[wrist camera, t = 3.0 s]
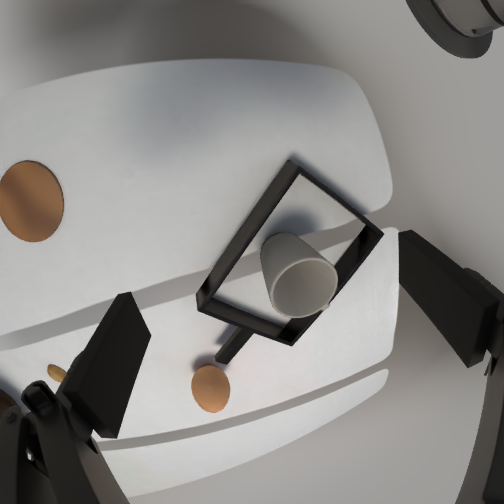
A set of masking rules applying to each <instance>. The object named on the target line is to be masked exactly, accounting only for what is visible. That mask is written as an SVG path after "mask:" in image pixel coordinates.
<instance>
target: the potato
mask: <svg viewBox="0 0 504 504" xmlns="http://www.w3.org/2000/svg"><path fill="white" fill-rule="evenodd" d="M47 372H48V374H49V376H50V377H51V378H52V379H54V380H56V381H58V382H62V381H63V379H64V377H65V375H67V374H66V372H65V371H63V370H62V369H61V368H59V367H57V366H54V365H49V366H48V371H47Z"/></svg>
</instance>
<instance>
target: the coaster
mask: <svg viewBox="0 0 504 504" xmlns="http://www.w3.org/2000/svg"><path fill="white" fill-rule="evenodd" d="M63 211H64V200H63V194H62V191H61V188H60V185H59V183H58V181H57V179H56V178H55V176H54V175H53V174H52V173H51V171H50V170H48V169H47V168H46V167H45V166H43V165H41V164H39V163H36V162H32V161H24V162H20V163H18V164H15V165H14V166H12V167H11V168H10V169H8V170H7V172H6V173H5V174H4V176H3V177H2V179H1V181H0V216H1V219H2V221H3V223H4V224H5V226H6V227H7V228H8V230H9V231H10V232H11V233H12V234H14V235H15V236H16V237H18V238H20V239H22V240H24V241H28V242H39V241H43V240H45V239H47V238H48V237H50V236H51V235H52V234H53V233H54V232H55V231H56V229H57V228H58V226H59V225H60V222H61V220H62V216H63Z"/></svg>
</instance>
